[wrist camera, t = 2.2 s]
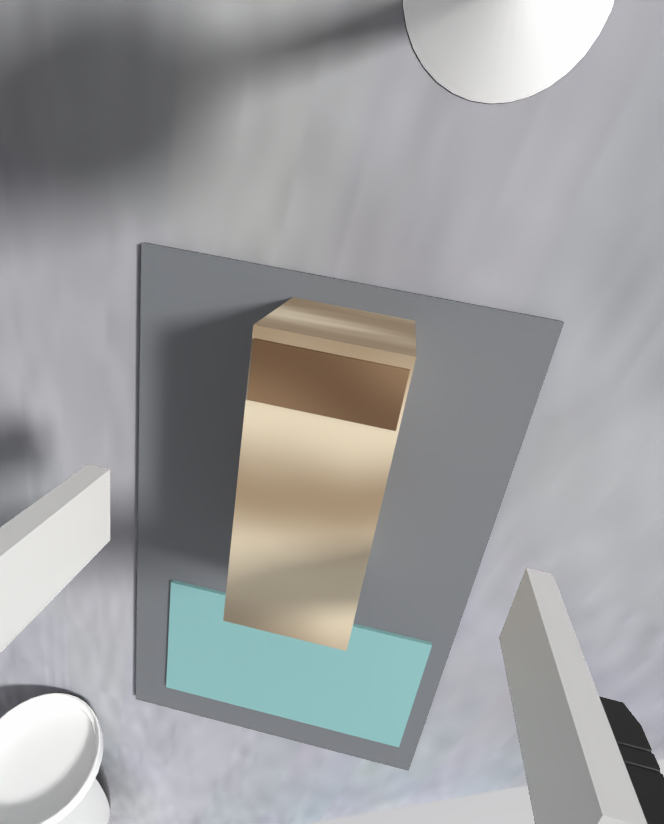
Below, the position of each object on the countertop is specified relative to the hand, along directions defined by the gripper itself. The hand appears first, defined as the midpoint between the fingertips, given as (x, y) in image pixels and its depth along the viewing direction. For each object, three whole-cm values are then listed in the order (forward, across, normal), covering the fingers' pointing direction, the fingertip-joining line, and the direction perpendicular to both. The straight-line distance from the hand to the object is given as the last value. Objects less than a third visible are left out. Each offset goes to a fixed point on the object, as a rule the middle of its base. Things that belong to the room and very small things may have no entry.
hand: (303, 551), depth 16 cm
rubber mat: (+8, -1, -6) cm, 10 cm away
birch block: (+8, 0, 0) cm, 8 cm away
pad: (+8, 0, -14) cm, 16 cm away
